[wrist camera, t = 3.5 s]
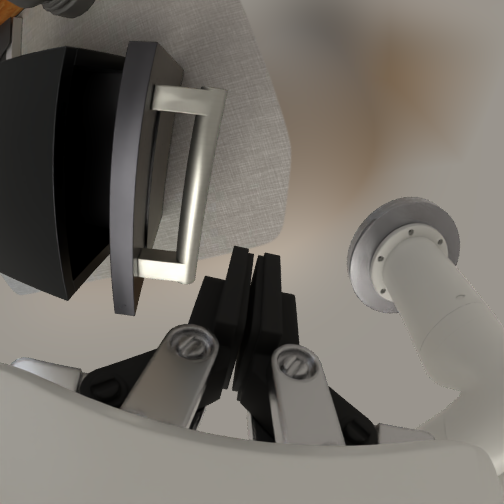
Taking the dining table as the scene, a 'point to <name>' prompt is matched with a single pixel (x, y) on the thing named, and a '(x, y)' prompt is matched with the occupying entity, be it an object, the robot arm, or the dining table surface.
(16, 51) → the picture frame
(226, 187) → the dining table surface
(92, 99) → the oven
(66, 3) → the candle holder
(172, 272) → the oven door
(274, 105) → the dining table surface
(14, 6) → the bread
